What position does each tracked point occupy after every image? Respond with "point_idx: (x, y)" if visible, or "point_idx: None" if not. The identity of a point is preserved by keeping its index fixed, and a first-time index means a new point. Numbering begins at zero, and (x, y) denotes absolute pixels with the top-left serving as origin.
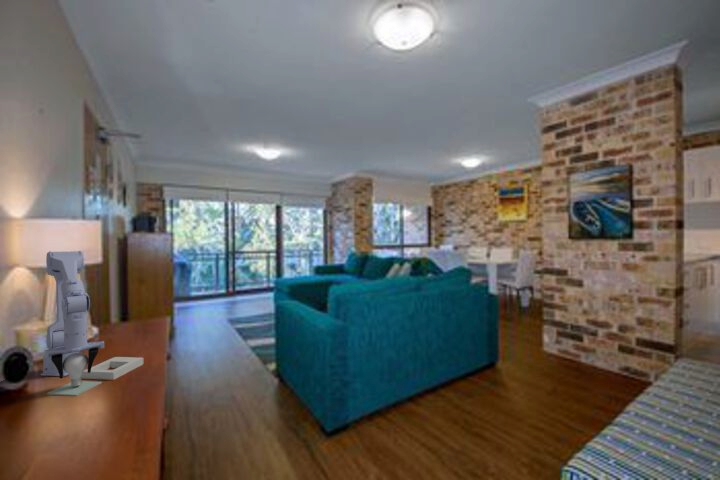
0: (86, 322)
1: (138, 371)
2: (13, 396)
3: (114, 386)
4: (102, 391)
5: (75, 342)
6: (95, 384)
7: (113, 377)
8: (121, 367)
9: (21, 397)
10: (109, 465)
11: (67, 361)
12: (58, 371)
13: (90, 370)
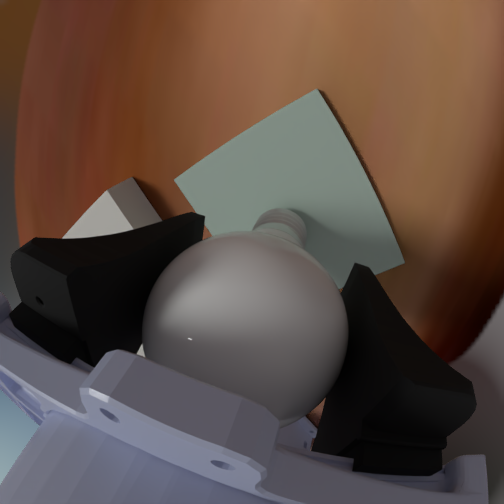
0: None
1: (59, 195)
2: (456, 348)
3: (144, 74)
4: (200, 45)
5: None
6: (204, 167)
7: (124, 181)
8: (81, 234)
9: (456, 317)
10: None
11: (321, 347)
12: (390, 301)
13: (183, 214)
